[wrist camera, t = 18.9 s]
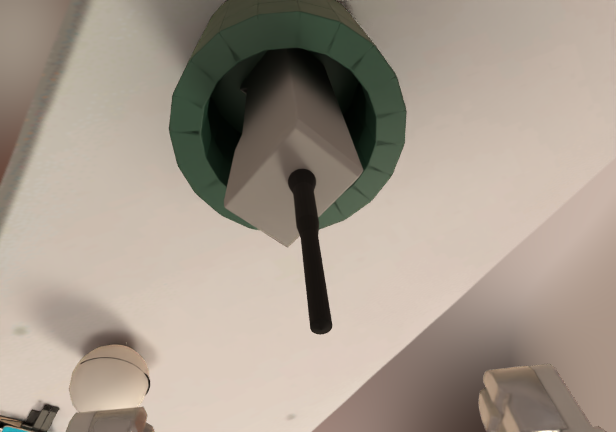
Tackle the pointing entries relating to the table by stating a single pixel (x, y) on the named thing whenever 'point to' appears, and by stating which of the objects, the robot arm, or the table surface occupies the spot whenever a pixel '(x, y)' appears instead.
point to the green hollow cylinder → (231, 100)
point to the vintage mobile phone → (292, 161)
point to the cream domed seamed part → (109, 379)
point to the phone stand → (30, 421)
